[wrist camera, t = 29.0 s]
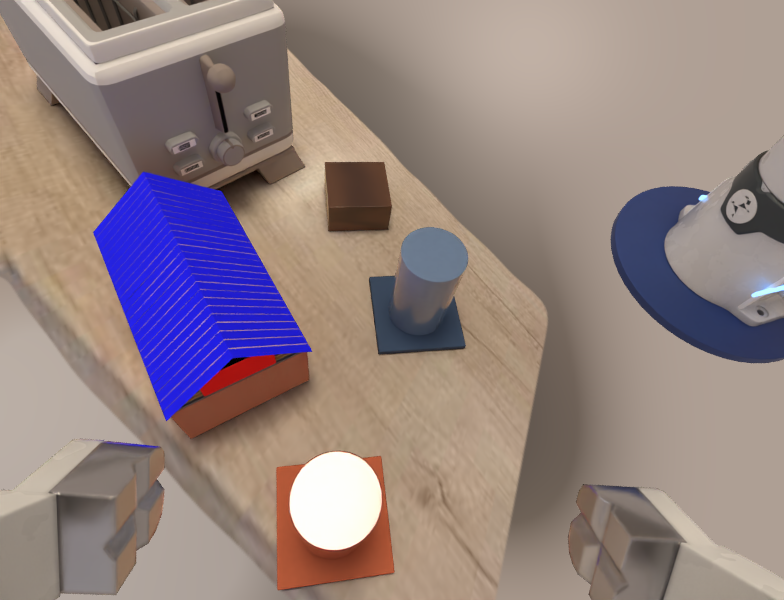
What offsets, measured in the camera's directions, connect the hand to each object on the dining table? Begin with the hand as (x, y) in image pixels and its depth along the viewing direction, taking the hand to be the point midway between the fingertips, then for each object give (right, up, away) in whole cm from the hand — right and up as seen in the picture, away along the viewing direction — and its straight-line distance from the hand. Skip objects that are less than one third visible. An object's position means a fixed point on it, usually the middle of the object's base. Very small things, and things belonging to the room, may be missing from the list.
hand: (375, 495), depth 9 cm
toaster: (-27, +25, +51) cm, 63 cm away
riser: (-4, +15, +48) cm, 50 cm away
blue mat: (+3, +2, +41) cm, 41 cm away
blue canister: (+3, +3, +41) cm, 41 cm away
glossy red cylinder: (-4, -14, +29) cm, 33 cm away
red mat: (-5, -14, +30) cm, 33 cm away
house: (-17, +1, +38) cm, 42 cm away
